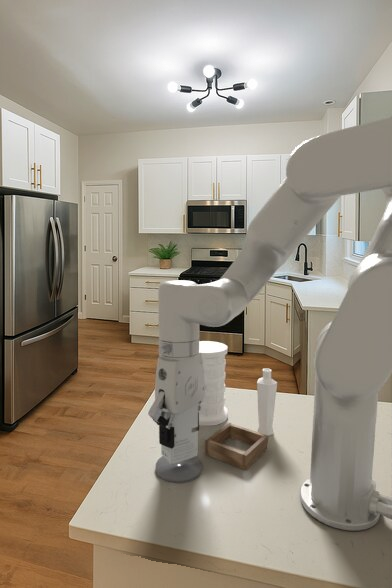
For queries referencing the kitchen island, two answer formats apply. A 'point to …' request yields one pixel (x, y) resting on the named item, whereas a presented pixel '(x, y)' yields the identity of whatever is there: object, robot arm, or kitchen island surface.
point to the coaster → (179, 470)
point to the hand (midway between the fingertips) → (179, 436)
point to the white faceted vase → (266, 402)
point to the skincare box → (183, 436)
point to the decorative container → (213, 383)
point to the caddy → (232, 455)
